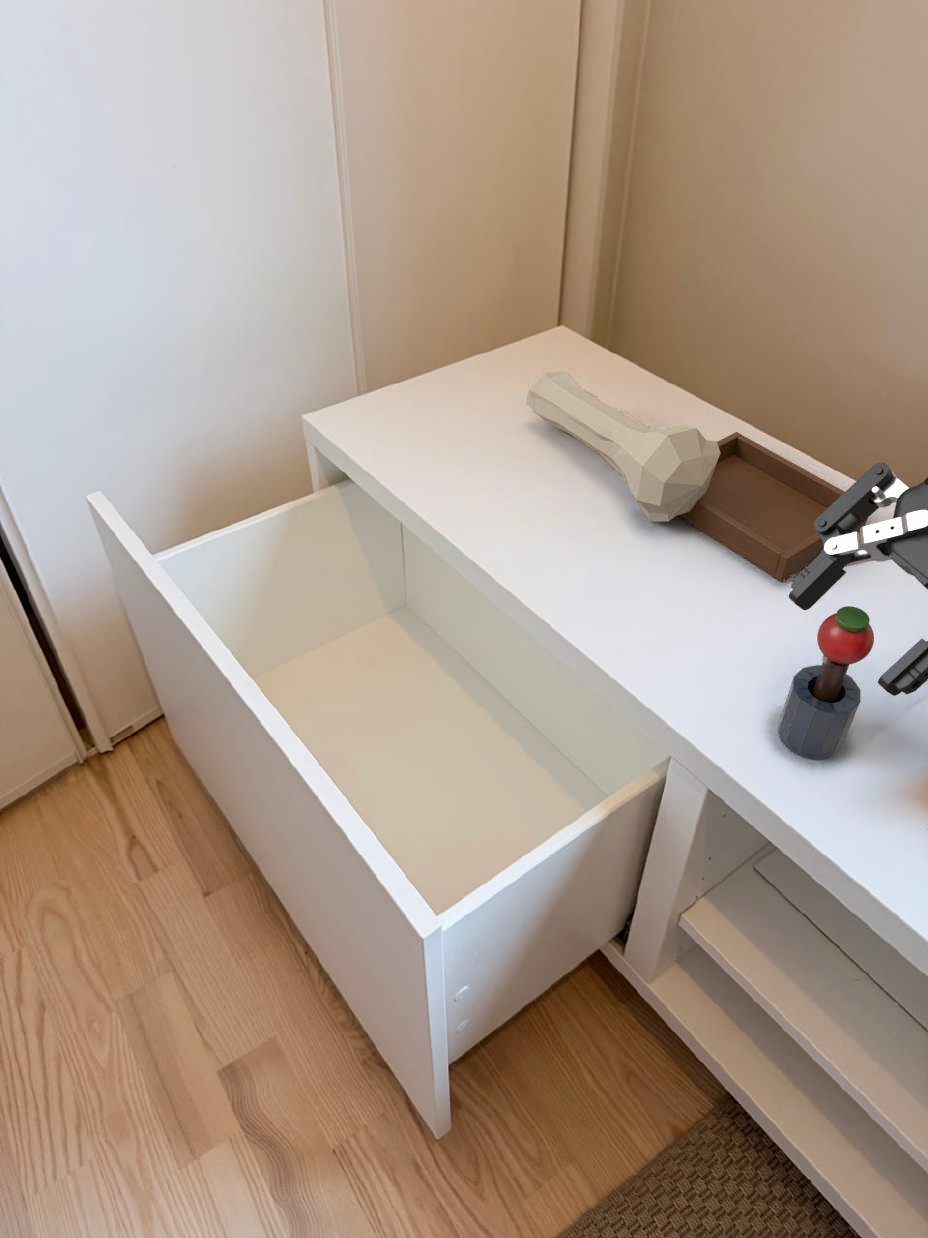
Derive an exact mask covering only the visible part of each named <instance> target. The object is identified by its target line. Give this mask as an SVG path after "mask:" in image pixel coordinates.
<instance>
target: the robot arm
mask: <svg viewBox="0 0 928 1238" xmlns="http://www.w3.org/2000/svg"><path fill="white" fill-rule="evenodd" d="M844 491H845V492H844V493H843V494H842V495H841V496H840V497H839V498H838V499H837V500H836V501H835V502H834V503H832V504H831V505H830V506H829V507H828V508H827V509H826V510H825V511H824V512H823V513H822V514H821V515H820V516H818V517H817V518H816V520H815V521H814V528H815V530H816V531H817V532H818V533H819V535H820V538H821V540H822V542H823V549H822V551H821V553H820V554H819V555H818V556H817V557H816V558H815V559H814V560H813V561H812V562H811V563H810V564H808V565H807V566H805V567H804V569H803V570H802V571H801V572H800V573H799V574H798V575H797V576H796V577H795V578H794V579H793V581H792V583H791V585H790V589H792V590H791V591H790V592H789V594H788V599H789V600H791V602H793V604H795V605H796V606H797V607H798V608H800V609H801V610H802V611H808V610H809V609H811V608H812V607H813V606H814V605H815V604H816V603H817V602H818V601H819V600H820V599H821V598H822V597H823V596H825V594H826V593H827V592H829V590H831V588H832V587H833V586H834V585H836V584H837V582H839V581H840V579H842V578H843V577H844V576H845V574H846V573H847V571H846V570H845V569H844V568H845V567H846V568H847V567H853V566H855V565H860V564H865V563H869V562H880V563H881V562H882V563H883V562H887V561H893V562H894V563H895V564H896V565H897V566H898V567H899V568H900V569H901V570H902V571H904V572H905V573H906V574H908V575H910V576H913V577H914V578H915V580H917V582H919V583H920V584H921V585H922V586H923V587H924V588H925V589H926V590H927V591H928V476H927V477H926V478H925V479H924V480H923V481H922V482H919V483H917V484H916V485H913V486H911V487H908V485H906V483H904V482H903V481H902V480H901V479H900V478H899V477H898V476H897V475H896V473H895V472H894V471H893V470H892V469H891V468H890V466H889V465H888V464H887V463H885V462H877V463H875V464H873V465H872V466H871V467H870V468H869V469H868V470H867V471H866V472H864V474H863V475H861V476H860V477H859V478H858V479H857V480H856V481H855V482H854V483H853V484H852V485H850V486H849V488H847V489H846V490H844ZM894 503H895V507H894V512H893V516H892V518H891V519H887V520H884V521H883V520H882V521H879V522H875V523H871V524H868V525H865V526H863V527H861V528H859V530H858V531H857V532H853V531H854V530H855V529H856V528H857V527H858V526H859V525H860V524H862V523H863V522H864V521H865V520H866V519H867V518H870V517H871V516H872V515H873V514H874V513H875V512H876V511H877V510H878V509H879V508H886V507H887V508H888V507H890V506H891V505H892V504H894ZM867 520H868V519H867ZM852 532H853V533H852ZM927 681H928V640H927V641H926V640H925V639H924V638H920V639H919V641H917V642H916V643H915V644H914V645H913V646H912V647H911V648H910V649H909V650H907V651H906V652H905V653H904V654H903V655H902V656H901V657H900V658H899V659H898V660H897V661H896V662H895V663H893V665H891V666H890V667H889V668H888V669H887V670H886V671H885V672H884V673H883V674H882V675H881V676H880V677H879V678H878V680H877V684H878V685H879V686H880V687H881V688H882V689H883V690H884V691H886V692H887V693H888V694H890V695H891V696H893V697H895V696H898V695H900V694H901V693H904V694H905V695H909V694H913V693H915V692H917V691H918V689H920V688H921V687H922V686H923V685H924V684H925V683H926V682H927Z"/></svg>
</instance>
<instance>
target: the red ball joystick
mask: <svg viewBox="0 0 928 1238" xmlns="http://www.w3.org/2000/svg"><path fill="white" fill-rule="evenodd" d="M870 619H871V618H870V616H869V614H868V613H867V612H866V611H864V610H863V609H861V608H859V607H857V606H851V605H850V606H849V605H848V606H842V607H840V608H839V609H838V610H837V611H836V612H835V613H833V614H830V615H829V616H828V617H826V618H825V619H824V620H823V621H822V622H821V624H820V626H819V627H818V630H817V634H816V635H817V636H816V641H817V642H816V643H817V646H818V648H819V650H820V652H821V653H822V658H821V660H822V663H821V665H822V666H821V669H820V671H819V674H818V677H817V680H816V683H815V686H814V688H813V691H812V694H811V695H812V696H813V697H815V698H816V699H818V700H820V701H822V702H827V703H835V701H836V699H837V696H838V693H839V691H840V688H841V685H842V683H843V680H844V678H845V675H846V674H847V672H848V669H849V667H850V665H854V664H856V663H859V662H861V661H863V660H864V659H865V658H866V657H868V656H869V654H870V653H871V651H872V649H873V646H874V642H875V635H874V634H875V633H874V630H873V627H872V625H871V624H870V621H871V620H870Z"/></svg>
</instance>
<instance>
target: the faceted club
mask: <svg viewBox="0 0 928 1238" xmlns="http://www.w3.org/2000/svg"><path fill="white" fill-rule="evenodd" d="M525 404H526V405H527V406H528V407H529V408H530V409H531V410H532V411H533V412H534V414H536V415H537V416H538V417H540V418H541V419H543V420H544V421H545V422H546V423H547V424H549V425H551V426H554V427H555V428H558V429H559V430H561V431H563V432H565V433H567V434H569V435H571V436H572V437H574V438H575V439H576V440H579V441H580V442H581V443H583V444H584V445H585V446H587V447H589V448H590V449H592V450H593V451H594V452H596V453H598V455H600V456H601V457H602V458H603V459H604V460H605V461H606V462H607V463H608V465H610V466H611V467H612V468H613V469H614V470H615V471H616V472H618V473H619V474H620V475H621V476H622V477H623V478H624V479H625V480H626V482H627V486H628V490H629V491H630V493H631V494H632V495H633V497H634V499H635V500H636V501H637V502H638V504H639V507H640V510H642V512H643V513H644V515H645V516H646V518H648V520H649V522H670V521H671V520H673V519H674V518H675V517H678V515H680V514H683V513H686V512H690V511H691V509H692V508H693V507H694V506H695V504H696V502H697V501H698V500H699V499H701V497H702V496H703V495H704V494H705V493H706V491H707V488H708V486H709V483H710V480H711V477H712V475H713V472H714V469H715V467H716V464H717V461H718V458H719V456H720V450H719V447H718V444H717V442H718V440H709V439H706V438H705V437H704V435H703V434H702V433H701V432H700V431H699V429H698V428H697V427H693V426H687V425H675V426H670V427H665V428H657V429H650V428H649V427H647V426H645V425H644V424H643V423H641V422H639V421H637V420H635V419H634V418H632V417H631V416H628V415H627V414H625V413H624V412H622V411H620V410H618V409H617V408H615V407H613V406H612V405H610V404H608V403H606V402H604V401H603V400H601V399H599V398H598V396H597V395H596V394H593V393H592V392H590V391H588V390H586V389H585V388H583V387H582V385H580V383H579V382H578V381H577V380H576V379H575V378H574V377H573V376H572V375H571V373H570V372H569V371H552V372H550V371H549V372H544V373H543V375H541V377H540V378H538V380H537V381H536V382H535V383H534V384H533V385H532V386H531V387H530V388H529V389H528V390H527V395H526V400H525Z"/></svg>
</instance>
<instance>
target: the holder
mask: <svg viewBox="0 0 928 1238" xmlns="http://www.w3.org/2000/svg"><path fill="white" fill-rule="evenodd" d="M821 666H822V664H816V665H811V666H805V667H803V668H801V669H800V670H799V671H798V672H797V673H795V675H794V676H793V677H792V681H791V684H790V687H789V689H788V693H787V695H786V700H785V701H784V705H783V708H782V711H781V714H780V717H779V723H778V727H777V732H778V736H779V740H780V741H781V742H782V745H784V746H785V748H787V749H788V750H789V751H790V752H791V753H793V754H795V755H797V756H799V757H802V758H803V759H804V758H805V759H807V760H815V761H817V760H827V759H829V758H832V757H834V756H835V755H836V754H837V753H838V752H839V751H840V749H841V748H842V746H843V745H844V743H845V740H846V738H847V735H848V734H849V731H850V728H851V725H852V723H853V722H854V719H855V716H856V714H857V711H858V709H859V706H860V704H861V688H860V687H859V686H858V683H856V681H855V680H854V678H853V677H852V676H850V675H849V674H847V673H846V675H845V678H844V680H843V683H842V685H841V688H840V691H839V693H838V696H837V699H836V701H835V703H827V702H822V701H820V700H818V699H816V698H815V697H813V696H812V695H811V694H812V691H813V688H814V686H815V683H816V680H817V677H818V674H819V671H820V669H821Z"/></svg>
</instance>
